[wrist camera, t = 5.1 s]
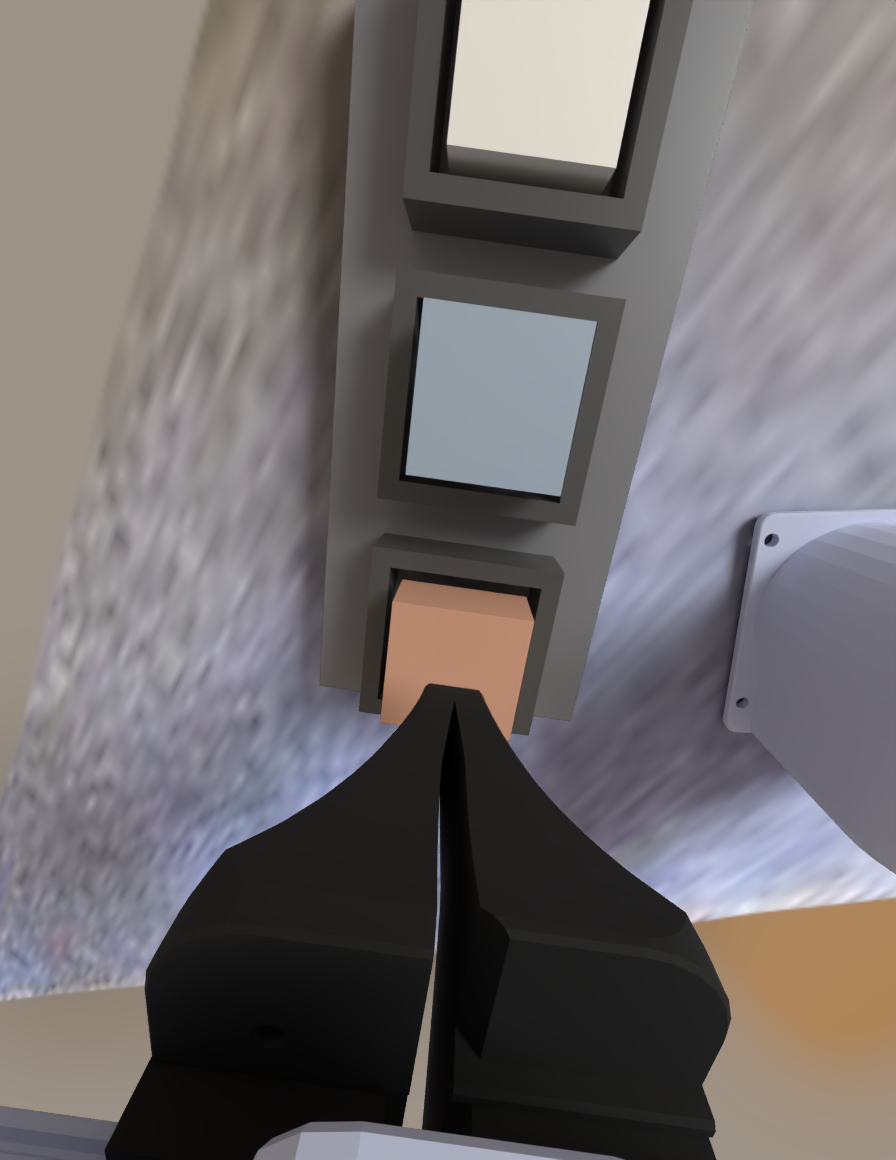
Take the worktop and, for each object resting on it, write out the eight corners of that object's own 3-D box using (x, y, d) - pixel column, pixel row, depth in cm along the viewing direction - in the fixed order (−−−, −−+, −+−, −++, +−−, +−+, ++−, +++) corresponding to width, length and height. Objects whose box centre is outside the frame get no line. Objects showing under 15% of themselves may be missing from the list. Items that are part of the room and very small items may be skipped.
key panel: (560, 693, 20) (581, 755, 16) (333, 661, 20) (302, 715, 16) (721, 31, 13) (822, -130, 9) (375, -17, 13) (338, -197, 9)
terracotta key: (504, 703, 16) (509, 740, 14) (391, 687, 16) (380, 722, 14) (526, 596, 15) (534, 621, 13) (402, 579, 15) (392, 601, 13)
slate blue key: (548, 486, 14) (560, 496, 12) (414, 468, 14) (405, 474, 12) (577, 338, 12) (596, 321, 11) (430, 317, 12) (423, 297, 11)
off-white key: (594, 206, 13) (616, 167, 11) (450, 186, 13) (447, 144, 11) (631, 14, 11) (664, -68, 10) (472, -8, 11) (472, -95, 10)
